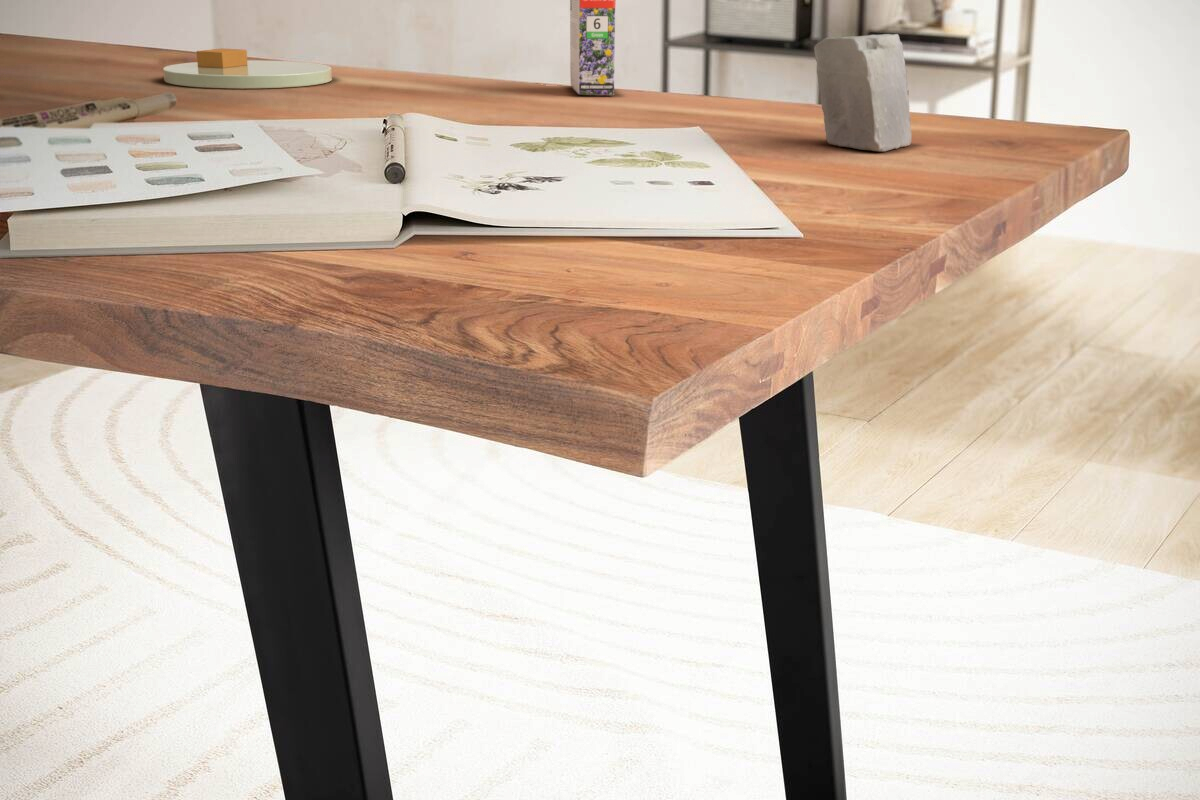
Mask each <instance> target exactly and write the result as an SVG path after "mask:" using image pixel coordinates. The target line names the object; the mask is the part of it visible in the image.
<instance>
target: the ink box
mask: <svg viewBox="0 0 1200 800" xmlns="http://www.w3.org/2000/svg"><path fill="white" fill-rule="evenodd" d="M569 34H570V35H569V48H570V49H569V51H570V52H569V70H570V71H569V72H570V73H569V74H570V77H569V78H570V86H571V88H572V89H573V91H575V92H576V94H578V95H579V96H614V95H615V52H616V51H615V50H616V49H615V46H616V45H615V44H616V43H615V42H616V0H569ZM572 86H574V87H572Z"/></svg>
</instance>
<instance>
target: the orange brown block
mask: <svg viewBox="0 0 1200 800" xmlns="http://www.w3.org/2000/svg"><path fill="white" fill-rule="evenodd" d="M247 60H248V52H247V49H243V48H242V49H241V48H239V49H238V48H221V47H220V48H211V49H203V50H196V62H197V63H198V67H210V68H229V67H237V66H245V65H248V64H247Z"/></svg>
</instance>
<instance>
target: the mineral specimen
mask: <svg viewBox="0 0 1200 800" xmlns="http://www.w3.org/2000/svg"><path fill="white" fill-rule="evenodd" d="M900 38H901V37H900V35H899V32H898V33H897V32H896V33H894V34H893V33H892V34H891V33H883V34H868V35H859V36H856V35H854V36H852V35H851V36H843V37H839V36H835V37H833V36H832V37H831V36H830V37H825V38H824V39H822V40H820V41H819V42H817V43H816V44H815V45H814V47H813V49H814V58H815V61H816V75H817V82H818V87H819V96H820V100H821V110H822V113H823V122H824V132H825V138H826V139H825V140H826V142H827V143H828V144H829V145H831V146H838V147H840V148H841V147H844V148H850V149H851V148H852V149H855V150H862V151H872V152H888V151H892V150H897V149H899V148H903V147H907V146H910V145H911V143H912V137H913V135H912V125H911V113H910V101H909V100H910V99H909V89H908V73H907V72H908V70H907V67H906V60H905V58H904V45H903V42H902V41H901V39H900Z"/></svg>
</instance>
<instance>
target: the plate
mask: <svg viewBox="0 0 1200 800" xmlns="http://www.w3.org/2000/svg"><path fill="white" fill-rule="evenodd" d="M247 64H248V65H245V66H237V67H229V68H210V67H198V63H197V61H195V62H184V63H176V64H169V65H166V66H165V67H163V68H162V75H163V81H164V83H167V84H169V85H174V86H181V87H188V88H203V89H204V88H205V89H228V90H229V89H231V90H232V89H233V90H235V89H237V90H247V89H249V90H251V89H253V90H254V89H255V90H256V89H257V90H258V89H284V88H285V89H287V88H299V87H301V88H302V87H309V86H310V87H311V86H316V85H324V84H327V83H329V82H331V81H332V80H333V71H332V70H333V69H332V67H331V66H329V65H328V64H327V65H326V64H322V63H315V62H305V61H291V60H290V61H288V60H257V59H256V60H253V59H252V60H251V59H250V60H248V59H247Z"/></svg>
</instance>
